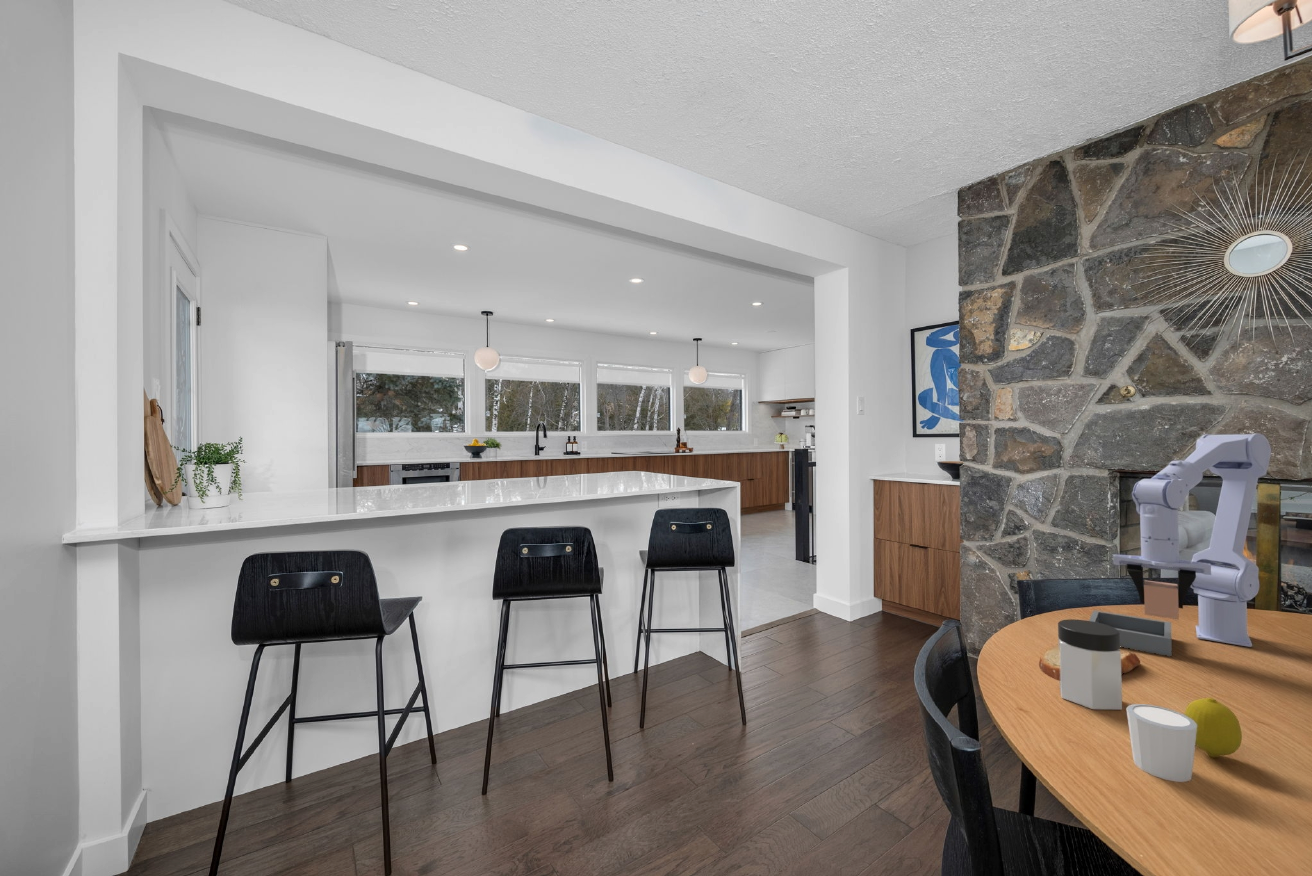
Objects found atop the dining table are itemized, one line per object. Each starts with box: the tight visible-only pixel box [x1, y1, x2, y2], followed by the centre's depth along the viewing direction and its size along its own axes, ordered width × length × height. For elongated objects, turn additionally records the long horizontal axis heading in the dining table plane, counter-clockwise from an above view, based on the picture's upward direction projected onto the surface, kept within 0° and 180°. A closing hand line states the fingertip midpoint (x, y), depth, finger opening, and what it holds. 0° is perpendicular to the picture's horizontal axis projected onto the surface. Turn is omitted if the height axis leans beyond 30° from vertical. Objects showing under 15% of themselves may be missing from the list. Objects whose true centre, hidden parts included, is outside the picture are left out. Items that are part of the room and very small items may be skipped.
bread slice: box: [1038, 643, 1141, 682], centre depth 103 cm, size 18×18×4 cm
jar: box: [1057, 618, 1123, 711], centre depth 91 cm, size 9×8×12 cm
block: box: [1143, 579, 1180, 621], centre depth 111 cm, size 5×5×6 cm
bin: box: [1088, 610, 1173, 657], centre depth 117 cm, size 13×13×4 cm
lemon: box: [1184, 697, 1243, 758], centre depth 74 cm, size 6×6×8 cm
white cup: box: [1125, 703, 1197, 783], centre depth 72 cm, size 7×7×7 cm
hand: (1161, 604), depth 111 cm, fingers closed on block, 5 cm apart
